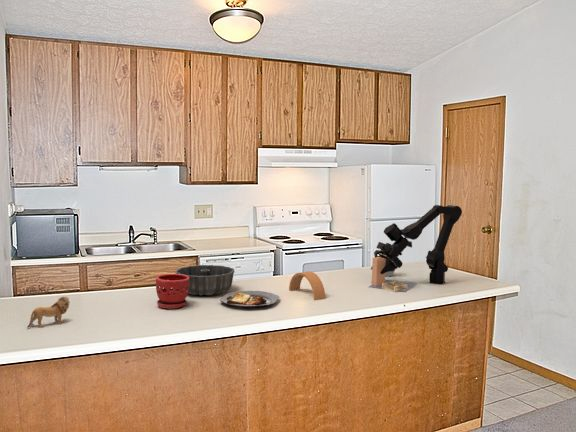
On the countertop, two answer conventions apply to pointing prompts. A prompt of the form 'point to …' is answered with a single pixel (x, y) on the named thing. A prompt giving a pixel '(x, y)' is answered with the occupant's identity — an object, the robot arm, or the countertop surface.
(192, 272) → the bundt pan
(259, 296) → the food plate
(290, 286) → the arch
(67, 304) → the lion figurine
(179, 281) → the plant pot
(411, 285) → the board
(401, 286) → the maple socket block
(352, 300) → the countertop surface
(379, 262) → the terracotta column
